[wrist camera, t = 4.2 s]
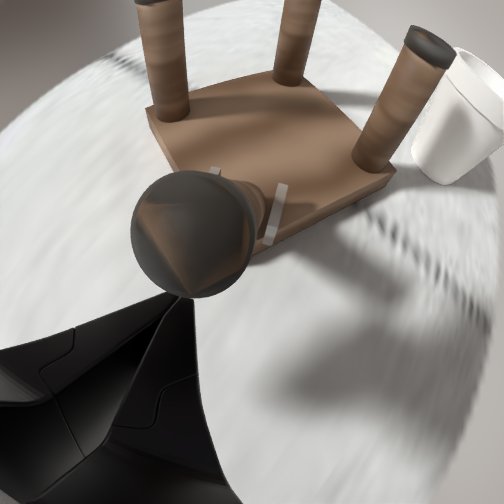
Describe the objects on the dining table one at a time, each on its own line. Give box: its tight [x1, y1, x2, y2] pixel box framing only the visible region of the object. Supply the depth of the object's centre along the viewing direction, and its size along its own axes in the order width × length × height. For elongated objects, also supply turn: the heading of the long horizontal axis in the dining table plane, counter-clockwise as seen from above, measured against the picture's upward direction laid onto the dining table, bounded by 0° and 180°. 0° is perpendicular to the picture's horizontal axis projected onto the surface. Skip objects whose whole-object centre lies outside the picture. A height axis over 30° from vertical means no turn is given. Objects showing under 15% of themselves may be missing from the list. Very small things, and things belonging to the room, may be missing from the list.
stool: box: [134, 0, 457, 256], centre depth 17 cm, size 17×17×15 cm
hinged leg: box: [131, 170, 266, 298], centre depth 12 cm, size 3×3×11 cm
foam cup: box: [411, 47, 504, 185], centre depth 21 cm, size 10×9×13 cm
